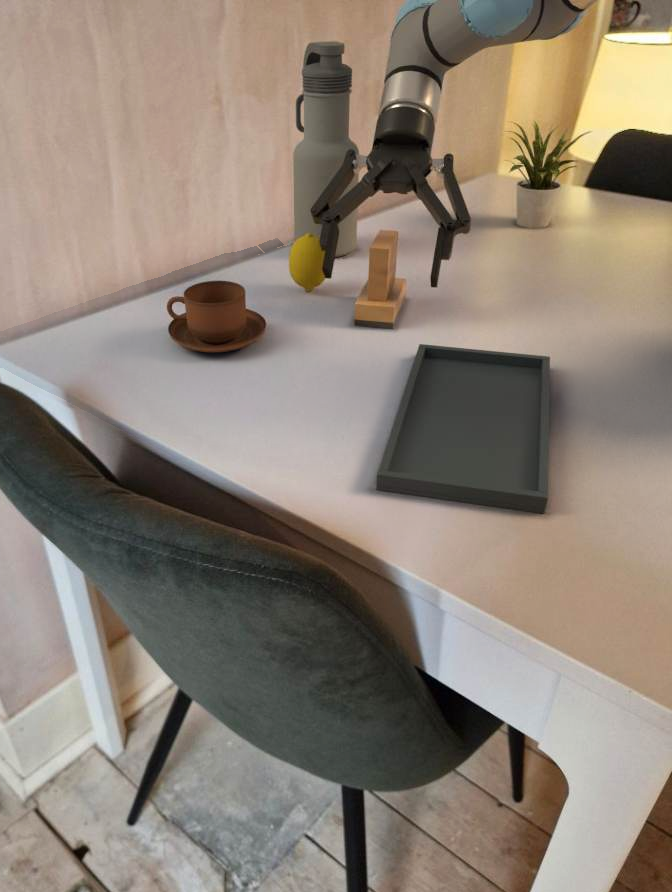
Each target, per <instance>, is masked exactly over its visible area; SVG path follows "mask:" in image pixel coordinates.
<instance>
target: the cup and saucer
mask: <svg viewBox="0 0 672 892" xmlns="http://www.w3.org/2000/svg"><path fill="white" fill-rule="evenodd" d="M246 299H247V298H246V289H245V287H244V286H243V285H242V284H239V283H237V282H234V281H229V280H207V281H203V282H198V283H194V284H192V285H189V286H188V287H187V288H186V289H184V292H183V296H180V295H179V296H178V295H177V296H172V297H171V298H169V300H168V301H167V303H166V311H167V314H168V315H169V316H170V317H171V318H172V321H170V322H169V324H168V326H167V331H168V334H169V336H170V338H171V340H173V342H175V343H177V344H178V345H179V346H181V347H182V348H185V349H188V350H191V351H195V352H201V353H224V352H225V353H226V352H232V351H236V350H239V349H240V350H241V349H243V348H246V347H248V346H250V345H252V344H253V343H255V342H256V341H258V340H259V339H260V338H261V337H262V336H263V335H264V333H265V331H266V327H267V322H266V319H265V318H264V316H262V315H261V314H260V313H258V312H256V311H255V310H251V309H248V308H247V305H246V304H247V303H246V301H247V300H246ZM175 303H181V304H183V305H184V308H185V312H184V313H181V314H177V313H176V312H175V311H174V310H173V304H175Z"/></svg>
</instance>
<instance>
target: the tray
mask: <svg viewBox="0 0 672 892" xmlns="http://www.w3.org/2000/svg"><path fill="white" fill-rule="evenodd" d="M412 363H413V364H412V366H411V369H410V371H409V375H408V378H407V381H406V384H405V388H404V390H403V394H402V397H401V399H400V402H399V405H398V409H397V412H396V415H395V418H394V421H393V425H392V427H391V430H390V433H389V436H388V439H387V442H386V446H385V448H384V451H383V454H382V458H381V461H380V464H379V467H378V471H377V473H376V483H375V489H376V491H383V492H390V493H397V494H403V495H410V496H419V497H425V498H431V499H439V500H445V501H446V500H447V501H453V502H460V503H467V504H468V503H469V504H473V505H474V504H475V505H481V506H488V507H493V508H501V509H502V508H503V509H509V510H510V509H511V510H516V511H523V512H531V513H535V514H536V513H538V514H545V513H546V508H547V504H548V500H549V499H548V498H549V453H550V451H549V447H550V446H549V445H550V443H549V442H550V387H551V386H550V383H551V381H550V380H551V356H547V355H536V354H529V353H517V352H507V351H498V350H497V351H494V350H485V349H477V348H476V349H474V348H466V347H455V346H445V345H444V346H443V345H433V344H424V343H423V344H422V343H419V345H418V348H417V350H416V354H415V357H414V360H413V362H412Z"/></svg>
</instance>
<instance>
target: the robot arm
mask: <svg viewBox="0 0 672 892" xmlns="http://www.w3.org/2000/svg"><path fill="white" fill-rule="evenodd" d="M598 1H599V0H407V1H405V2H404V3H403V4H401V6H400V8H399V9H398V12H397V15H396V18H395V21H394V22H395V23H394V25H393V30H392V31H391V36H390V42H389V43H390V44H389V45H390V46H389V51H388V57H387V62H386V69H385V74H384V75H385V76H384V82H383V87H382V90H381V91H382V92H381V96H380V103H379V108H378V113H377V115H378V116H377V117H378V118H377V120H376V125H375V130H374V134H373V135H374V136H373V142H372V147H371V150H370V152H369V153H368V155H364V154H359V155H357V154H356V153H355V151H354V150H353V149H350V150H348V151H347V152H346V155H345V159H344V162H343V165H342V166H341V168H340V169H339V170H338V172H337V173H336V175H335V176H334V177H333V179H332V180H331V181H330V183H329V184H328V186H327V187H326V188H325V190H324V191H323V192H322V194H321V195H320V197H319V198H318V199H317V201H316V202H315V203H314V205H313V206H312V208H311V209H310V212H311V215H312V218H313V221H314V223H315V224H321V225H322V229H321V235H320V240H319V243H320V247H321V250H322V251H325V255H324V260H323V266H322V270H323V273H324V276H325V279H328V280H329V279H330V280H331V279H332V276H333V270H334V264H335V261H336V260H335V259H336V257H335V254H336V249H337V243H338V238H339V232H340V231H339V228H338V224H339V223H340V222H341V221H342V220H344V219H345V218H346V217H347V216H348V215H349V214H350V213H352V212H353V211H354V210H355V209H356V208H357V207H358V208H359V206H361V205H362V204H363V203H364V202H365V201H366V200H368V198H372V197H374V196H375V195H376V194H377V193H378V192H379V191H381V192H382V193H383V194H394V193H396V194H400V195H408V193H411V192H413V193H414V194H415V196H416V198H417V199H418V200H420V201H421V202H422V204H423V205H424V207H425V208H426V210H427V211H428V212H429V214H430V215H431V217H432V218H433V220H434V221H435V222H436V224H437V225H438V228H437V234H436V242H435V247H434V254H433V260H432V265H431V270H430V279H429V280H430V287H431V288H438V283H439V278H440V270H441V264H442V260H443V261H449V260H450V259H451V257H452V253H453V247H454V242H455V241H454V240H455V238H456V237H457V235H460V234H463V235H467V234H468V233H470V232H471V225H472V217H471V215H470V212H469V209H468V206H467V204H466V201H465V199H464V196H463V192H462V191H461V188H460V185H459V182H458V180H457V177H456V174H455V171H454V163H455V162H454V159H455V158H454V155H453V154H452V153H446V154H444V156H443V157H442V158H432V149H433V143H434V137H435V132H436V123H437V120H438V113H439V107H440V101H441V96H442V90H443V83H444V78H445V75H446V73H447V72H449V71H450V70H451V69H453V68H454V67H457V66H459V65H460V64H462V63H463V62H465V61H466V60H468V59H469V58H471V57H472V56H474V55H476V54H477V53H479V52H481V51H483V50H484V49H488V48H493V47H498V46H505V45H513V44H518V43H525V42H531V41H547V40H552V39H555V38H558V37H559V36H563V35H565V34H568V33H569V32H571V31H572V30H574V29H575V28H576V27H577V26H578V25H579V24H580V22H581V20H582V19H583V17H584V15H585V13H586V11H587V9H588V8H590V7H592V6H593V5H594V4H595V3H597V2H598ZM364 168H366V169H367V172H366V173H365V174H364V175H363V176H362V177H361V179H360V181H358V184H357V185H355V186H354V187H353V188H352V189H351V190H350V191H349V192H348V193H346V194H345V195H344V196H343V197H342V198H341V199H340V200H339V201H337V200H338V199H339V198H340V196H341V195H342V193H343V192H344V191H345V189H346V188H347V187H348V185H349V184H350V182H351V181H352V179H353V177H354V175H355V174H358V173H359V174H360V172H361V170H362V169H364ZM432 171H434V172H435V173H436V176H437V177H438V178H439V179H442V180H443V186H444V190H445V191H446V194H447V197H448V200H449V203H450V205H451V208H452V211H453V214H454V216H455V217H452V215H451V214H450V213H449V211H448V209H447V208H446V207H445V205H444V203H442V201H441V199H440V198H439V197H438V196H437V194H436V192H435V191H434V190H433V188H432V187H431V186H430V184H429V182H428V180H427V177H428V176H429V175H430V174H431V173H432Z"/></svg>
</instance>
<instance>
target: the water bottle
mask: <svg viewBox="0 0 672 892" xmlns="http://www.w3.org/2000/svg"><path fill="white" fill-rule="evenodd" d="M344 54H345V43H344V42H339V41H337V40H336V41H335V40H331V41H329V40H328V41H315V42H313V41H312V42H309V43H308V44H307V46H306V47H305V50H304V54H303V55H304V56H303V63H302V69H301V77H302V90H301V94H299V95H298V96H297V97H296V100H295V127H296V129H297V130H298V131H299V132H301V133H303V138H302V140H300V142H298V143H297V145H296V146H295V147H294V149H293V152H292V154H293V155H292V159H293V160H292V164H293V165H292V168H293V170H292V171H293V174H292V175H293V223H294V224H293V229H294V236H293V237H294V242H295V241H296V240H298V239H299V238H300V237H302V236H305V235H306V234H307V233H311V234H312V235H313V236H316V237H318V238H319V239H320V235H321V229H322V225H321V224H315V223H314V221H313V218H312V215H311V212H310V209H311V208H312V206H313V205H314V203H315V202H316V201H317V199H318V198H319V197H320V195H321V194H322V192H323V191H324V190H325V188H326V187H327V186H328V184H329V183H330V181H331V180H332V179H333V177H334V176H335V175H336V173H337V172H338V170H339V169H340V168H341V166H342V165H343V162H344V159H345V155H346V152H347V151H348V150H350V149H353V150H354V151H355V153H356V154H357V155H360V150H359V148H358V146H357V144H356V143H355V142H354V141H353V140H352V139H351V138H350V137H349V136H350V104H351V103H350V102H351V101H350V100H351V97H350V96H351V94H352V91H353V90H352V89H351V88H352V86H353V81H352V80H353V78H352V77H353V68H352V67H351V66H349V65H348V64H346V63H343V55H344ZM302 104H303V124H302V110H301V109H302V108H301V107H302ZM359 174H360V172H359V173H358V174H355V175H354V177H353V179H352V181H351V182H350V184H349V185H348V187H347V188H346V189H345V191H344V192H343V193H342V195H341V196H340V198H339V199H338V200H337V201H339V200H340V199H341V198H342V197H343V196H344V195H345V194H346V193H348V192H349V191H350V190H351V189H352V188H353V187H354V186H355V185H357V184H358V183H359V182H360V181H359V180H360V178H359V176H360V175H359ZM358 208H359V206H358V207H357V208H356V209H355V210H354V211H353V212H352V213H350V214H349V215H348V216H347V217H346V218H345V219H344V220H342V221H341V222H340V223H339V224H338V228H339V231H340V232H339V238H338V243H337V249H336V254H335V258H339V257H344V256H346V255H349V254H350V253H352V252H353V251H354V250H355V248H356V246H357V239H358V238H357V237H358Z"/></svg>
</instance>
